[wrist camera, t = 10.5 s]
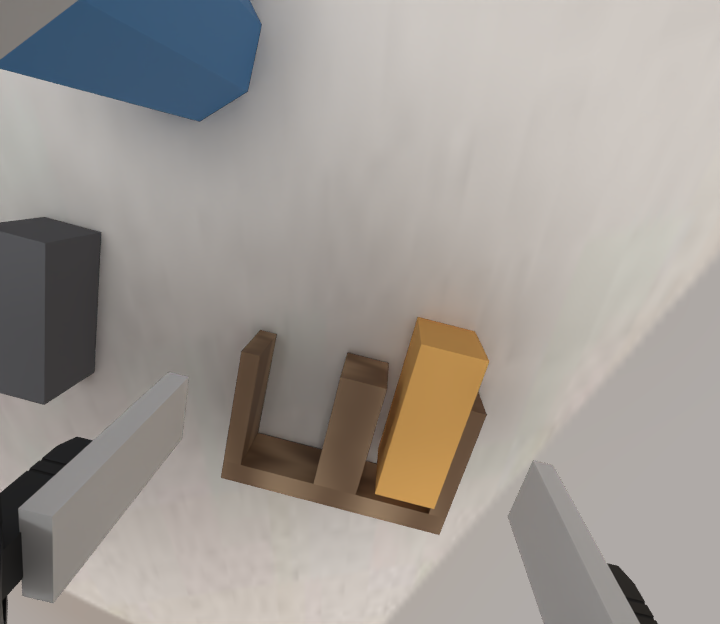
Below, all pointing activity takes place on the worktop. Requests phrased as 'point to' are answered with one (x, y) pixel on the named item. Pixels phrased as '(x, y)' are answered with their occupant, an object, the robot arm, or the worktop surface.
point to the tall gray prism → (47, 306)
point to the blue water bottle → (136, 49)
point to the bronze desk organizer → (331, 444)
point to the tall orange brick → (429, 411)
